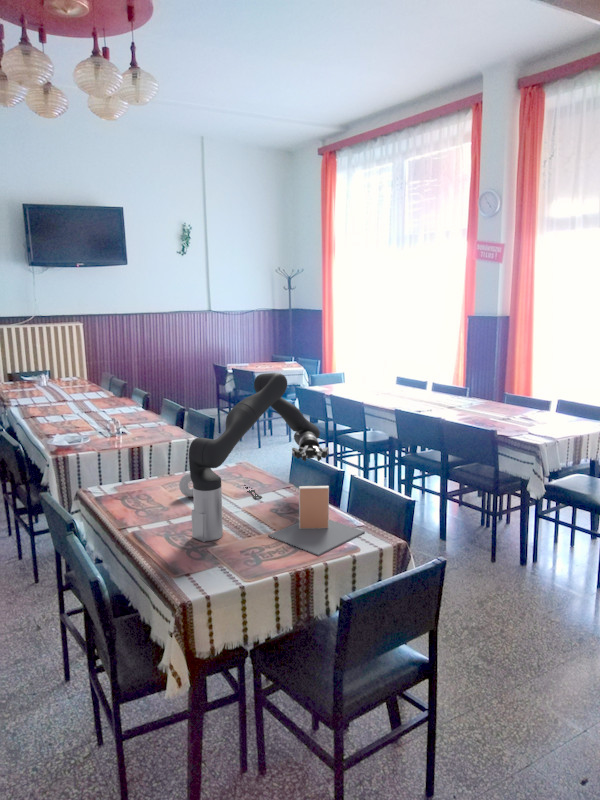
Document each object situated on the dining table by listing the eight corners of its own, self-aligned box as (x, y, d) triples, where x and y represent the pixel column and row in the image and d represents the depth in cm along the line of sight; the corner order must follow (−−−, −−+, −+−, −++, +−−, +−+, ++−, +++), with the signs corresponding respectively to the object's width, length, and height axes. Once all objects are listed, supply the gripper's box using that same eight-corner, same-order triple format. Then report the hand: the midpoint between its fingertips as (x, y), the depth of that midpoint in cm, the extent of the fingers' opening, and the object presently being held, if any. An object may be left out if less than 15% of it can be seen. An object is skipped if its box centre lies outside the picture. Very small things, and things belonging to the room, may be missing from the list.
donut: (202, 493, 243) (201, 469, 242) (205, 495, 241) (204, 471, 239) (178, 497, 239) (177, 472, 237) (181, 499, 236) (180, 475, 234)
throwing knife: (253, 500, 236) (253, 499, 235) (238, 485, 254) (238, 484, 253) (264, 499, 237) (264, 497, 237) (247, 483, 255) (247, 482, 255)
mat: (318, 555, 187) (318, 554, 187) (268, 536, 201) (268, 534, 201) (364, 532, 204) (364, 531, 204) (315, 516, 219) (315, 514, 219)
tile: (299, 526, 208) (299, 486, 206) (328, 525, 209) (328, 485, 206) (299, 529, 206) (299, 488, 203) (328, 528, 206) (329, 487, 204)
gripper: (290, 436, 229) (291, 448, 212) (327, 435, 230) (332, 447, 213) (290, 455, 231) (291, 469, 214) (327, 455, 231) (332, 468, 214)
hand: (312, 458), depth 214 cm, fingers open, 4 cm apart
